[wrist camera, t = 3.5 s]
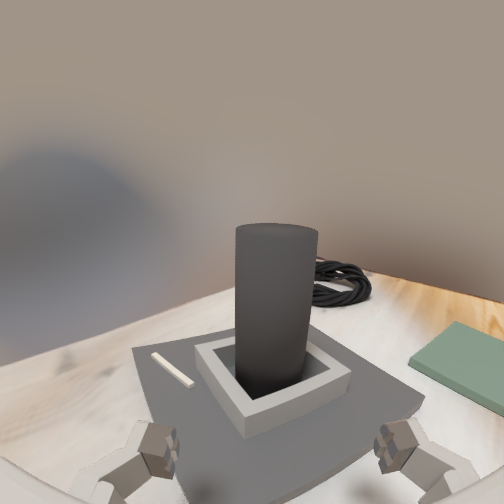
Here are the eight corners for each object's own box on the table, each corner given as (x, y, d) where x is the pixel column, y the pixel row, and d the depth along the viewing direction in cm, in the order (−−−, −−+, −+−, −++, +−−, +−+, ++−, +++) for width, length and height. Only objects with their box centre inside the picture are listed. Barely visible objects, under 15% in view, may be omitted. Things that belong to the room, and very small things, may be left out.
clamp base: (419, 408, 19) (435, 374, 18) (205, 532, 9) (197, 512, 8) (292, 323, 36) (295, 295, 35) (134, 359, 26) (127, 327, 25)
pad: (527, 360, 20) (530, 353, 20) (506, 418, 14) (511, 410, 13) (453, 326, 32) (455, 320, 32) (407, 364, 25) (410, 357, 25)
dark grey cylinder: (313, 390, 21) (335, 234, 18) (255, 413, 19) (263, 241, 15) (277, 358, 26) (286, 221, 23) (224, 374, 23) (222, 225, 20)
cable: (376, 290, 48) (380, 267, 47) (355, 321, 37) (361, 292, 36) (294, 272, 57) (295, 251, 56) (254, 293, 46) (255, 268, 45)
